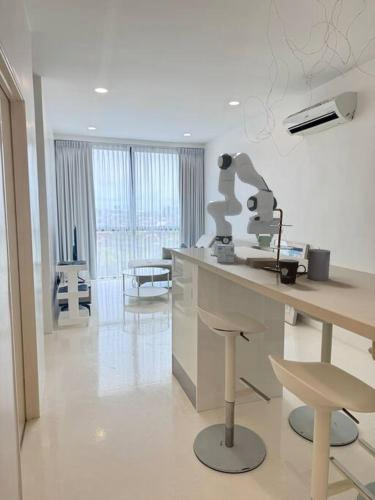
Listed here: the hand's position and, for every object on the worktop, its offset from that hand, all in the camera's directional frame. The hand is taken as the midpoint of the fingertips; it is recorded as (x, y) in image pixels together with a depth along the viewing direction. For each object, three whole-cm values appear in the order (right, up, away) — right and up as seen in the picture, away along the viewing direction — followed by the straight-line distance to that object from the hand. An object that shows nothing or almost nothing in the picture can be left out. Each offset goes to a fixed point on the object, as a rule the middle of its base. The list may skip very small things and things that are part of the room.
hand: (264, 241), depth 196 cm
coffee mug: (+1, -20, -45) cm, 49 cm away
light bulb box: (-20, -12, +17) cm, 29 cm away
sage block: (0, -3, 0) cm, 3 cm away
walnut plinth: (0, -14, +2) cm, 14 cm away
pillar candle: (+18, -19, -34) cm, 43 cm away
